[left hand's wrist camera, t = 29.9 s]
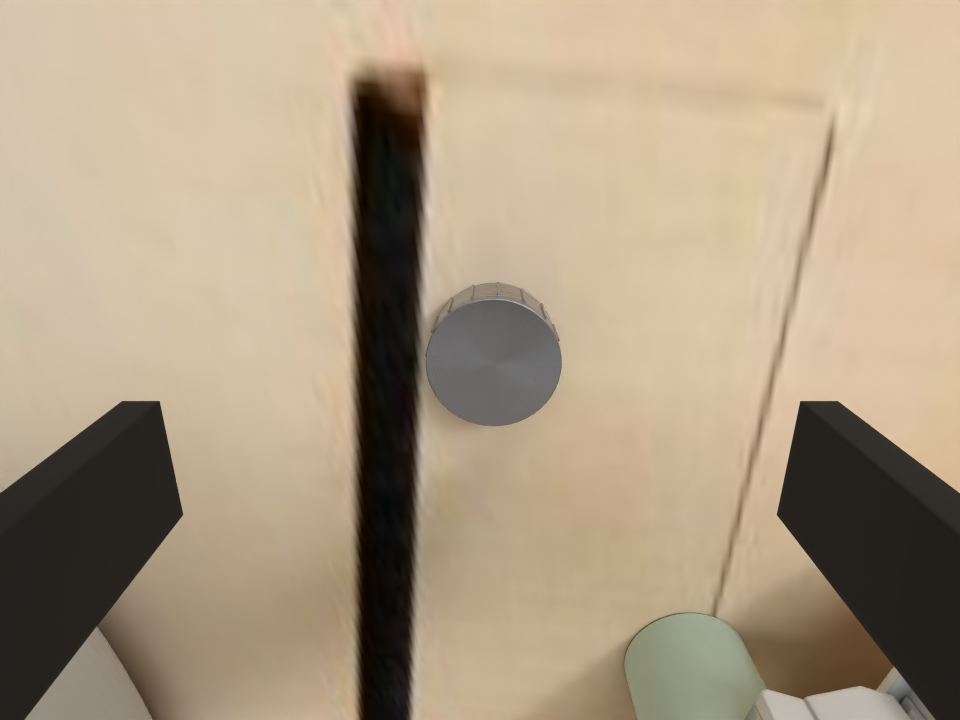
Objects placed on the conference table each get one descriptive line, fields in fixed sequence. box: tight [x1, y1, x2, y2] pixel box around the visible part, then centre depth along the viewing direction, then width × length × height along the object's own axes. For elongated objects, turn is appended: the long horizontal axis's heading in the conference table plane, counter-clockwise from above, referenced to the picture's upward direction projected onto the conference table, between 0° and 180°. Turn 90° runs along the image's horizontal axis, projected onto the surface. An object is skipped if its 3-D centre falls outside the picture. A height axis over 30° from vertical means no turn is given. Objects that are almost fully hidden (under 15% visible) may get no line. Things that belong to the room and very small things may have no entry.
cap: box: [426, 282, 562, 426], centre depth 21 cm, size 5×5×2 cm
